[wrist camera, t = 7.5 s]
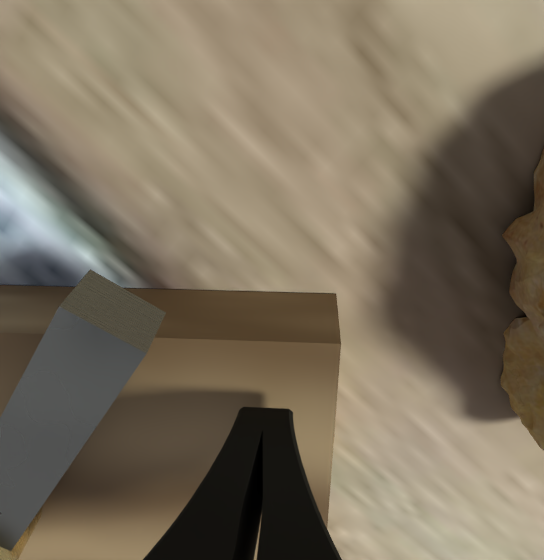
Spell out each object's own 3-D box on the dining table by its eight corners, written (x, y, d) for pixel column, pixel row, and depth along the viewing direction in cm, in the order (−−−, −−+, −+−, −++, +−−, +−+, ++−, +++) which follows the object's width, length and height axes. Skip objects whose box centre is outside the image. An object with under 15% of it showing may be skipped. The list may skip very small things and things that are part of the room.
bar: (26, 538, 17) (-17, 618, 15) (-51, 506, 17) (-108, 584, 14) (184, 312, 12) (155, 381, 10) (81, 252, 11) (24, 312, 9)
